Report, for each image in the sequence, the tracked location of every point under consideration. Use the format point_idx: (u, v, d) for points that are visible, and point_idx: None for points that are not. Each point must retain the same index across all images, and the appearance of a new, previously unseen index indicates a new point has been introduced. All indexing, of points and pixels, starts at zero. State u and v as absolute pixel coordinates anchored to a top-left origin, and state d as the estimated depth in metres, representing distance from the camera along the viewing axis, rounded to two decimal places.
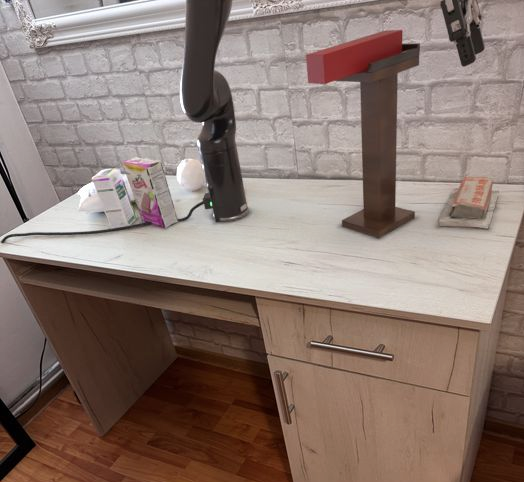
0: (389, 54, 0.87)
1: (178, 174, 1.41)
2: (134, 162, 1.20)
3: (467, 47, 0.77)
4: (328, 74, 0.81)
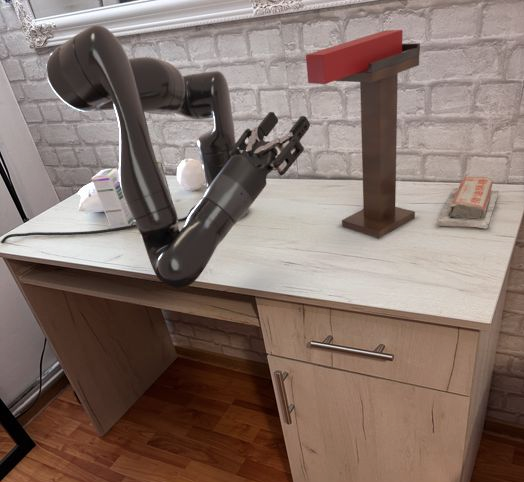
0: (389, 54, 0.87)
1: (178, 174, 1.41)
2: None
3: None
4: (328, 74, 0.81)
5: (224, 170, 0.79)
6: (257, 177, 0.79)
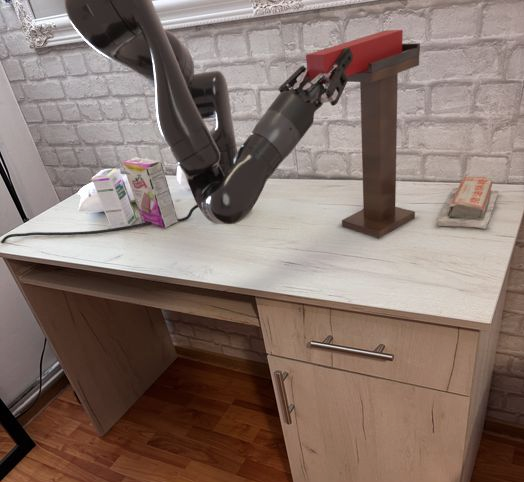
0: (389, 54, 0.87)
1: (178, 174, 1.41)
2: (134, 162, 1.20)
3: None
4: None
5: (273, 106, 0.80)
6: (306, 113, 0.80)
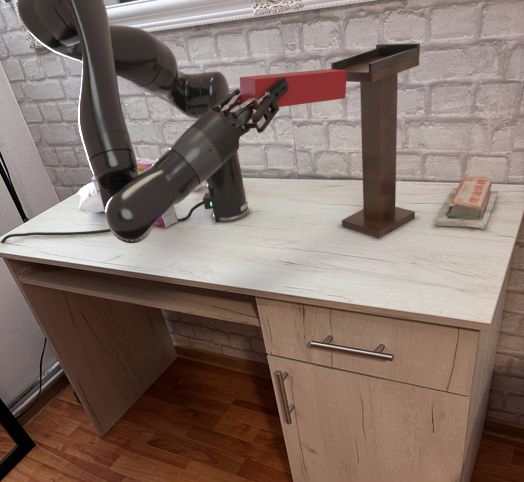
0: (331, 92, 0.84)
1: None
2: None
3: None
4: None
5: (196, 124, 0.74)
6: (230, 136, 0.74)
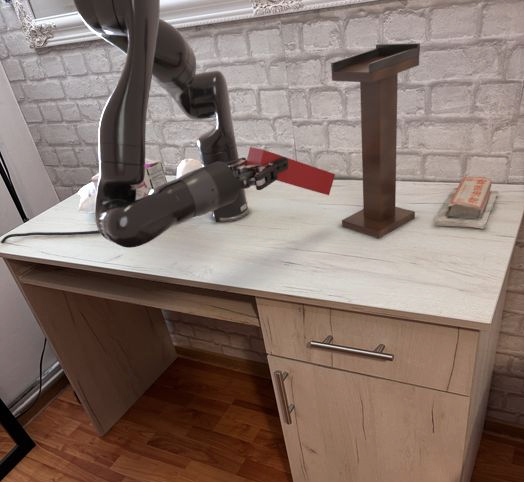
0: (319, 186, 0.98)
1: (178, 174, 1.41)
2: None
3: None
4: None
5: (205, 167, 0.83)
6: (232, 185, 0.84)
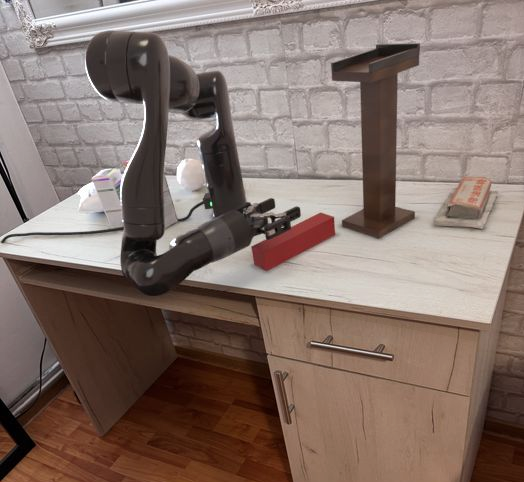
0: (323, 236, 1.05)
1: (178, 174, 1.41)
2: None
3: None
4: (269, 264, 0.99)
5: (222, 216, 0.90)
6: (246, 233, 0.90)
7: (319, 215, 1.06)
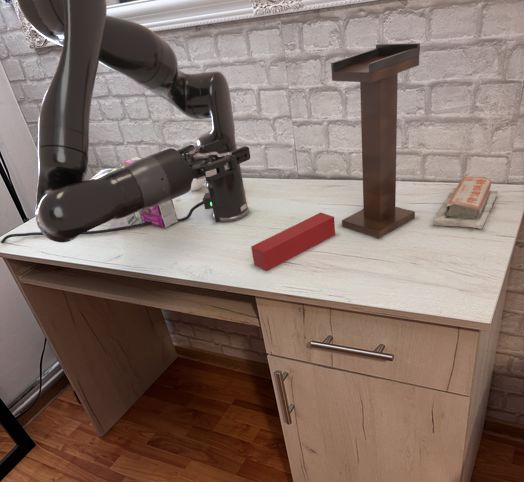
0: (323, 236, 1.05)
1: None
2: None
3: None
4: (269, 264, 0.99)
5: (154, 154, 0.77)
6: (184, 174, 0.77)
7: (319, 215, 1.06)
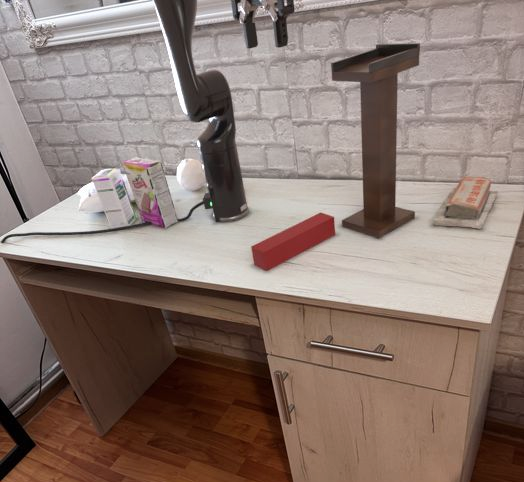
0: (323, 236, 1.05)
1: (178, 174, 1.41)
2: (134, 162, 1.20)
3: (244, 32, 0.86)
4: (269, 264, 0.99)
5: None
6: None
7: (319, 215, 1.06)
